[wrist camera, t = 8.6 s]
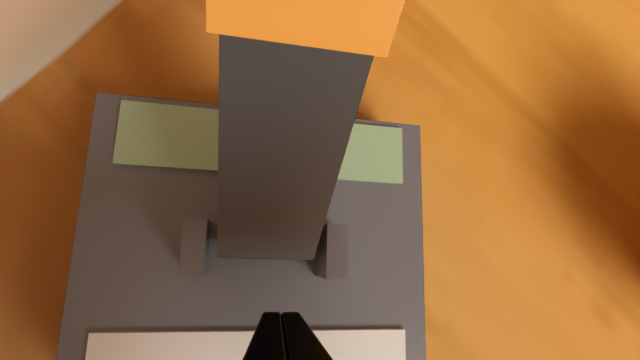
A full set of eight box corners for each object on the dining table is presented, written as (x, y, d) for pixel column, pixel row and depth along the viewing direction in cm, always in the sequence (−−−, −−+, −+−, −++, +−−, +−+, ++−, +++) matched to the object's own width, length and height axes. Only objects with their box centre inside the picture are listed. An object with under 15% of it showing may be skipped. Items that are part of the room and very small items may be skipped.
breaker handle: (316, 276, 15) (411, -17, 8) (209, 274, 14) (204, -55, 7) (311, 228, 16) (384, -47, 9) (215, 224, 16) (217, -80, 9)
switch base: (397, 379, 19) (453, 423, 14) (81, 392, 16) (12, 453, 11) (394, 143, 21) (441, 110, 16) (119, 117, 18) (76, 68, 13)
